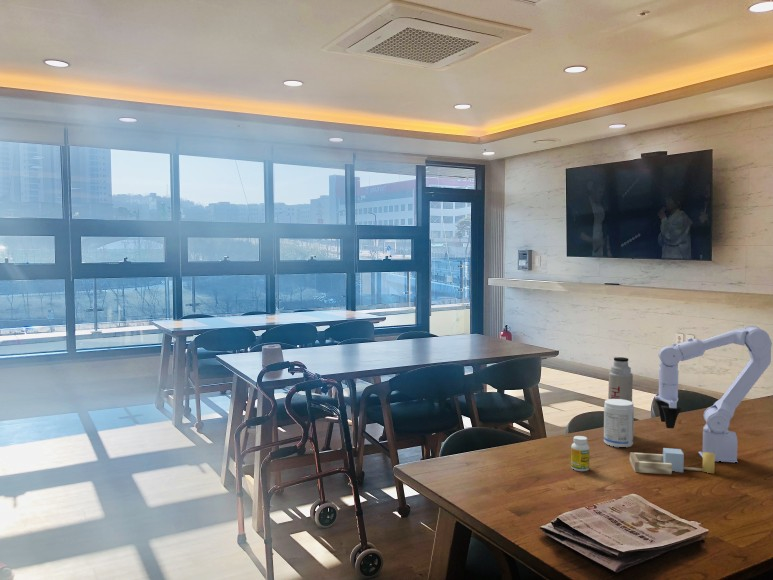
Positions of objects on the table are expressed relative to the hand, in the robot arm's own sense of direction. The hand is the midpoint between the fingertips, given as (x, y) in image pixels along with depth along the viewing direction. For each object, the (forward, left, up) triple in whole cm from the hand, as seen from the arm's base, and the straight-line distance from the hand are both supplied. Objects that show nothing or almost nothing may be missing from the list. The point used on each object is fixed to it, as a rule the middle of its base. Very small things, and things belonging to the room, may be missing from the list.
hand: (667, 424), depth 205 cm
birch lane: (+8, +16, -9) cm, 20 cm away
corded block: (-3, +16, -9) cm, 19 cm away
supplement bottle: (+29, +21, -10) cm, 37 cm away
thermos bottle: (+12, -18, -10) cm, 24 cm away
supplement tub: (+14, -7, -10) cm, 18 cm away
